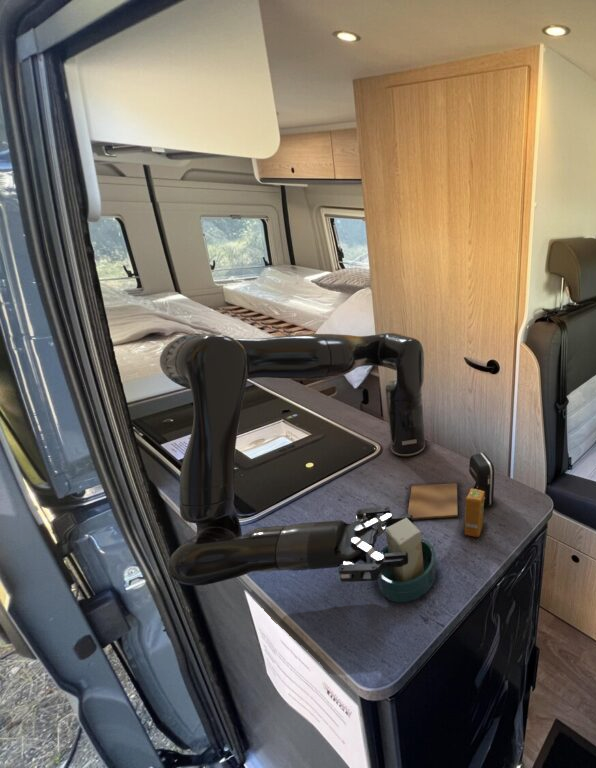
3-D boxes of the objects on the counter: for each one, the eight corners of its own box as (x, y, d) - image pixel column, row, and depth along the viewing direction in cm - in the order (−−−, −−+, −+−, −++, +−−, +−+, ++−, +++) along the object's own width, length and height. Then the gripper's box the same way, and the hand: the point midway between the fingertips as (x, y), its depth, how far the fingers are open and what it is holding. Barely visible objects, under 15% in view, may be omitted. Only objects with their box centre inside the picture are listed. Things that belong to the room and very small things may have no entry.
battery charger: (467, 492, 94) (467, 452, 90) (481, 487, 96) (482, 449, 91) (479, 510, 89) (479, 469, 84) (494, 505, 90) (495, 465, 86)
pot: (383, 556, 76) (380, 539, 74) (436, 551, 78) (436, 535, 76) (373, 605, 67) (370, 587, 65) (434, 599, 68) (433, 581, 66)
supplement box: (480, 538, 81) (480, 500, 77) (464, 535, 82) (464, 497, 78) (484, 526, 84) (484, 490, 80) (469, 523, 85) (468, 487, 81)
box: (425, 577, 72) (422, 532, 67) (404, 591, 69) (399, 545, 64) (410, 559, 75) (406, 516, 71) (389, 572, 72) (384, 527, 68)
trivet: (411, 487, 95) (411, 485, 95) (457, 485, 96) (457, 483, 96) (407, 520, 85) (407, 518, 85) (457, 516, 87) (457, 514, 86)
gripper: (293, 564, 58) (404, 555, 60) (322, 499, 71) (413, 494, 73) (302, 598, 61) (408, 588, 64) (328, 530, 74) (415, 524, 76)
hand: (410, 538), depth 68 cm, fingers open, 8 cm apart
